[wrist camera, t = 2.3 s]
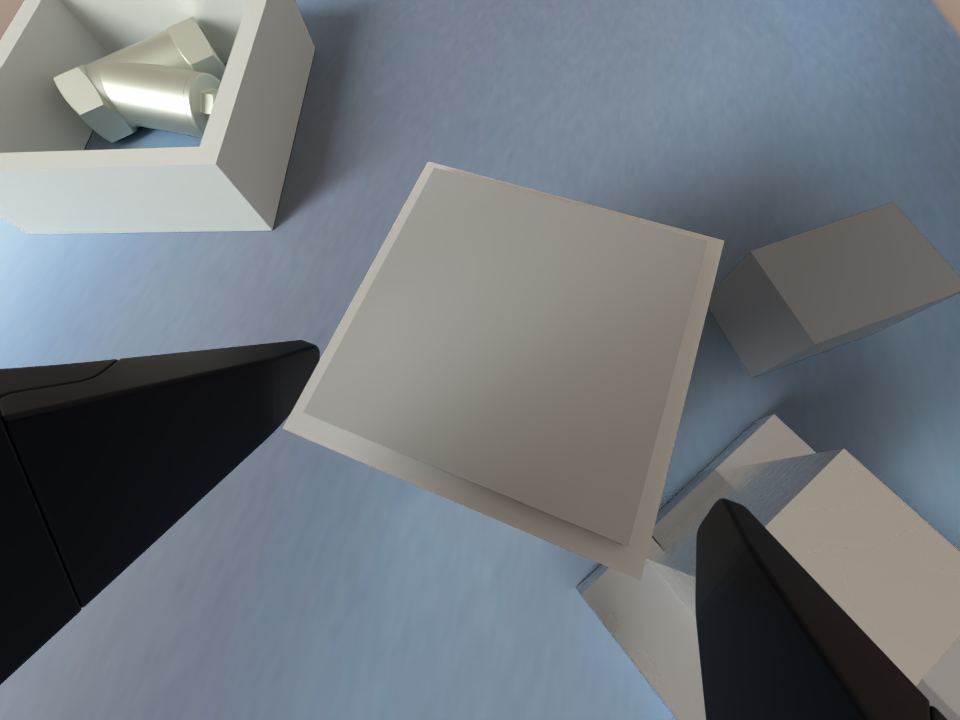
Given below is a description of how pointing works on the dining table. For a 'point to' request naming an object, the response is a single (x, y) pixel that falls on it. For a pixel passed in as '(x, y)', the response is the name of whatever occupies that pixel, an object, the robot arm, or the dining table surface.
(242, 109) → the parts tray
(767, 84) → the dining table surface
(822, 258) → the grey rectangular block
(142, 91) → the pipe fitting
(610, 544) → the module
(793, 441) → the rail plate
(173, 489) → the robot arm
